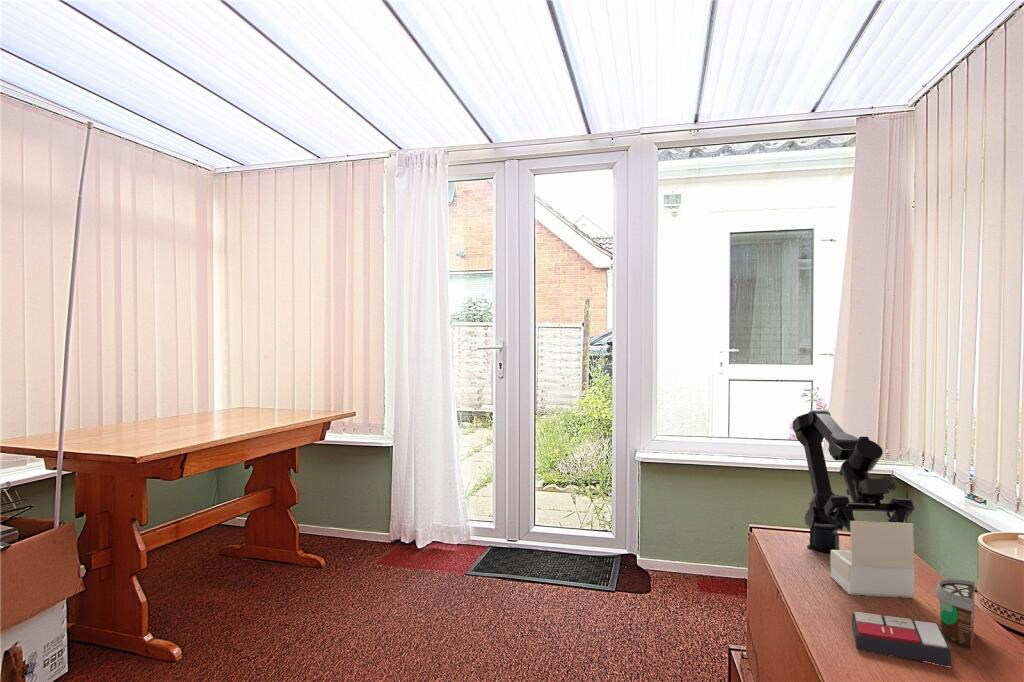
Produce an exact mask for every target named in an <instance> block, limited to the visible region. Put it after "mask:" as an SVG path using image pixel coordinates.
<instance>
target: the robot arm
mask: <svg viewBox="0 0 1024 682" xmlns="http://www.w3.org/2000/svg"><path fill="white" fill-rule="evenodd" d="M792 431H793V432H794V433H795V438H796V440H797V441H798V442H799V443H800V444H801V445H802V446H803V448H804V452H805V457H806V463H807V467H808V472H809V477H810V482H811V488H812V493H813V495H812V497H811V499H810V502H809V503H808V504H809V508H808V510H807V512H806V513H805V514H804V524H805V525H806V526H807V527H808V528H809V544H808V545H806V548H808V549H811V550H815V551H819V552H821V553H826V554H829V555H831V550H841V549H840V535H839V533H838V530H840V531H843V529H844V528H845V529H846V530H847V532H849V533H850V534H851V530H850V521H856V520H855V517H854V511H855V512H857V511H858V512H873V513H874V512H875V513H877V512H878V513H886V516H887V517H888V518H889V519H888V522H894V523H905V522H904V521H905V520H907V519H908V518H909V516H910V515H912V513H913V511H914V510H915V509H916V507H915V505H914V502H913V501H912V499H909V498H906V497H905V498H902V497H900V498H899V497H898V498H897V497H893V498H892V499H891V500H890V501H889V502H888V503H881V501H883V500H884V499H885V496H884V495H886V494H890V492H894V491H896V489H897V487H896V481H895V480H894V478H893V477H892V476H884V477H881V478H871V476H870V473H869V472H870V471H872V470H873V469H874V468H875V466H876V465H877V464H878V462H879V460H880V459H881V457H882V456H883V454H884V453H883V448H882V447H881V446H880V445H879V444H878V443H876V442H875V441H872V440H871V439H870V438H869V436H859V437H856V436H855V435H852V434H848V433H847V432H845V431H844V430H843V429H842V427H841V426H839V424H838V423H837V422H836V421H835V419H833V417H832V416H831V412H830V411H827V410H819V409H817V410H816V409H815V410H811V411H808V412H807V413H804V414H801V415H799V416H797V417H796V418H795V419H794V420H793V421H792ZM824 439H825V440H826V442H827V443H828V444H829V445H828V453H829V455H830V456H831V458H832V459H833V460H834V461H838V462H839V461H843V463H842V464H841V466H840V470H839V476H843V478H844V482H845V484H846V488H847V489H846V491H845V492H846V495H848V496H850V499H851V501H850V499H849V497H848V496H846V495H839V494H835V493H834V492H833V491H832V485H831V482H830V477H829V472H828V467H827V463H826V462H827V461H826V459H825V458H826V457H825V455H824V454H825V453H824V450H823V449H824V448H823V443H822V442H823V440H824Z"/></svg>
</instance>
